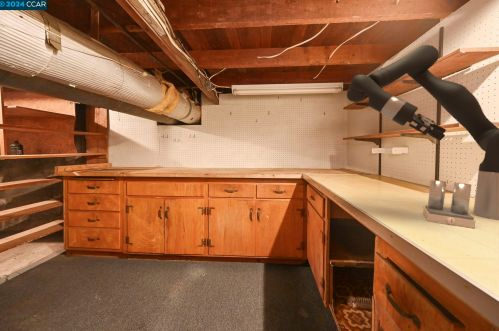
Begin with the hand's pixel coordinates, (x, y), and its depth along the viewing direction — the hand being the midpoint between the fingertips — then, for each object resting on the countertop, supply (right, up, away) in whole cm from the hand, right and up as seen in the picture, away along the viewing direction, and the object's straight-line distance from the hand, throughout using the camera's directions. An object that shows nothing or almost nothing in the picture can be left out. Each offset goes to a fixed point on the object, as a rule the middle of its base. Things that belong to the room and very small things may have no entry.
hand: (443, 135), depth 80 cm
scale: (+4, -29, +3) cm, 30 cm away
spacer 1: (+2, -26, +6) cm, 26 cm away
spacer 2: (+6, -26, +1) cm, 27 cm away
